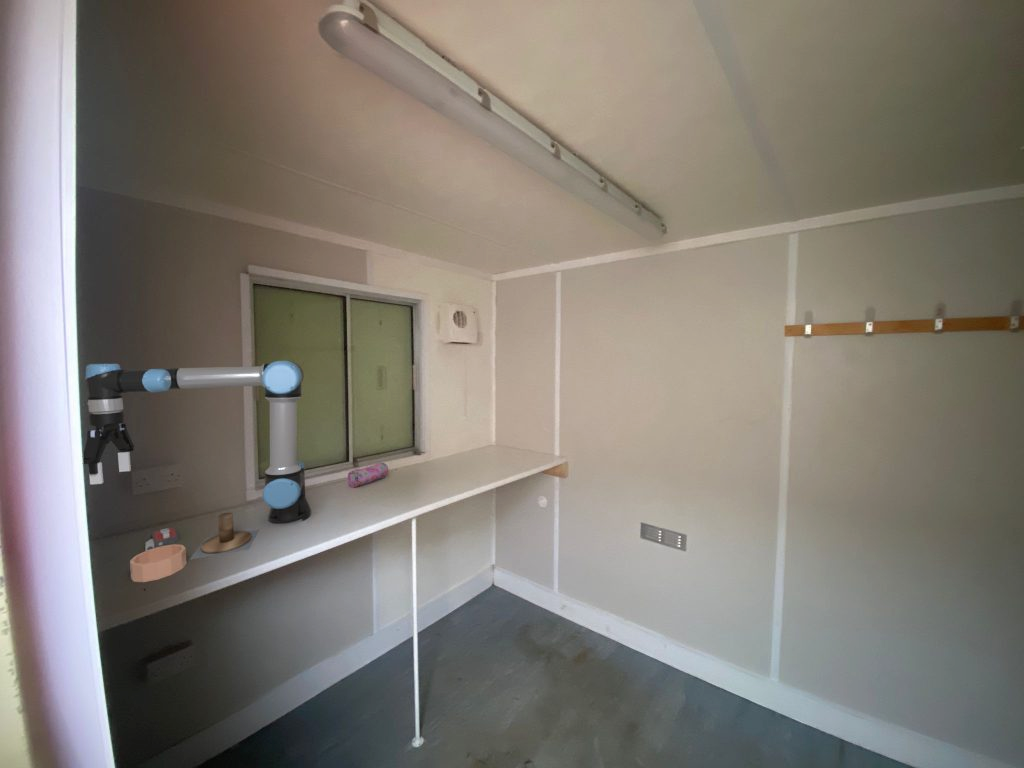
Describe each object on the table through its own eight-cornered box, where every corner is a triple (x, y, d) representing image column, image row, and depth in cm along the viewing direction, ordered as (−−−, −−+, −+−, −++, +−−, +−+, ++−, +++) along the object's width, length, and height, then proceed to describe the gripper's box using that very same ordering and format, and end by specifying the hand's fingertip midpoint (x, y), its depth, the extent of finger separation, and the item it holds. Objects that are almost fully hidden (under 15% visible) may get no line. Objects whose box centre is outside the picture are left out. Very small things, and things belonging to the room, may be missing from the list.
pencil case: (356, 490, 188) (355, 472, 187) (344, 486, 193) (344, 469, 192) (390, 478, 206) (389, 462, 206) (379, 475, 211) (378, 460, 210)
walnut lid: (255, 531, 140) (253, 504, 140) (246, 548, 128) (244, 519, 127) (208, 538, 135) (207, 510, 134) (194, 557, 122) (192, 526, 121)
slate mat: (259, 532, 142) (258, 529, 142) (249, 552, 127) (248, 549, 127) (206, 540, 135) (206, 537, 135) (189, 562, 121) (189, 559, 121)
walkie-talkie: (143, 541, 136) (147, 561, 122) (142, 529, 135) (146, 548, 122) (176, 533, 142) (183, 551, 128) (175, 521, 142) (182, 539, 128)
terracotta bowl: (191, 559, 123) (190, 541, 122) (176, 579, 112) (175, 559, 111) (143, 567, 118) (142, 549, 117) (123, 589, 107) (121, 568, 106)
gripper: (116, 407, 130) (121, 467, 132) (59, 418, 107) (65, 491, 108) (144, 406, 133) (148, 465, 134) (93, 417, 109) (99, 488, 111)
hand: (111, 477), depth 121 cm, fingers open, 13 cm apart
